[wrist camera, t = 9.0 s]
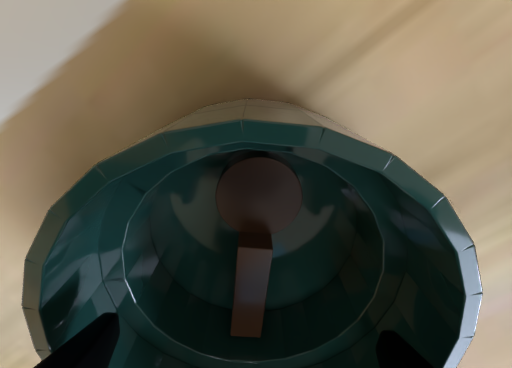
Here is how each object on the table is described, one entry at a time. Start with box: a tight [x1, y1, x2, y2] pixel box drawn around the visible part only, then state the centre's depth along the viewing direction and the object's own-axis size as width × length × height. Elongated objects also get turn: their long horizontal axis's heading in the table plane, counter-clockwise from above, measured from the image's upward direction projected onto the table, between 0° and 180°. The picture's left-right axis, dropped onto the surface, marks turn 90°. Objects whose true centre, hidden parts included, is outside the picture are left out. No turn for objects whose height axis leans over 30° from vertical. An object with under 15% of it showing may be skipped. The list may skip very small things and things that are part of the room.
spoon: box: [215, 151, 303, 338], centre depth 12 cm, size 9×4×2 cm, turn 175°
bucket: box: [22, 99, 483, 368], centre depth 11 cm, size 13×13×6 cm
